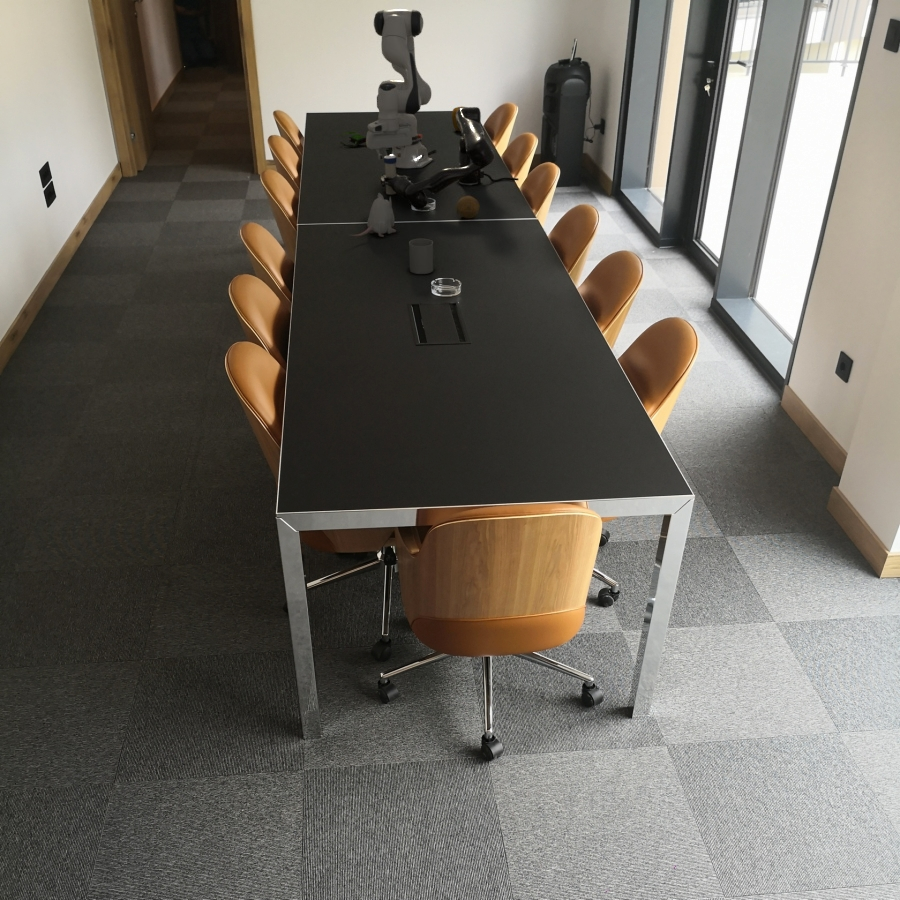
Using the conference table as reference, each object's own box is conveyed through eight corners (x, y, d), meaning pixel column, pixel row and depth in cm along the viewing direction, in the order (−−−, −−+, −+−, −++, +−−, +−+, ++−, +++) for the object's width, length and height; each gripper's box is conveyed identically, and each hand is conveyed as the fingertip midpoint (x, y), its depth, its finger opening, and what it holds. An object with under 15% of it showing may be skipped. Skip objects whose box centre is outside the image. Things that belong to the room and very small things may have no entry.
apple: (471, 132, 486) (471, 108, 479) (451, 132, 486) (451, 108, 479) (470, 128, 495) (471, 104, 488) (452, 128, 495) (452, 104, 488)
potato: (477, 211, 365) (478, 192, 361) (481, 222, 353) (481, 202, 349) (454, 211, 364) (454, 192, 360) (457, 222, 352) (457, 203, 348)
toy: (401, 232, 342) (400, 194, 334) (357, 247, 328) (354, 207, 320) (386, 227, 348) (384, 189, 339) (341, 241, 333) (338, 202, 325)
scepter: (396, 128, 463) (340, 126, 461) (396, 143, 456) (339, 141, 454) (396, 138, 468) (340, 135, 466) (396, 153, 461) (339, 151, 459)
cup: (409, 265, 311) (408, 238, 306) (432, 265, 312) (431, 238, 307) (410, 274, 304) (409, 246, 299) (433, 273, 305) (433, 246, 299)
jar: (385, 191, 390) (384, 156, 382) (396, 191, 390) (394, 156, 382) (386, 194, 386) (385, 159, 378) (397, 194, 386) (395, 159, 378)
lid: (383, 160, 383) (383, 155, 382) (395, 160, 384) (395, 155, 382) (384, 164, 378) (384, 158, 377) (397, 163, 379) (396, 158, 378)
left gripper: (408, 121, 378) (409, 154, 386) (364, 125, 371) (365, 158, 379) (414, 124, 373) (414, 157, 381) (368, 128, 367) (370, 161, 374)
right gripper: (387, 197, 373) (373, 186, 386) (418, 193, 378) (403, 183, 391) (386, 179, 369) (373, 169, 382) (417, 175, 374) (403, 166, 387)
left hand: (389, 157), depth 380 cm, fingers open, 8 cm apart
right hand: (388, 176), depth 387 cm, fingers closed on jar, 4 cm apart
